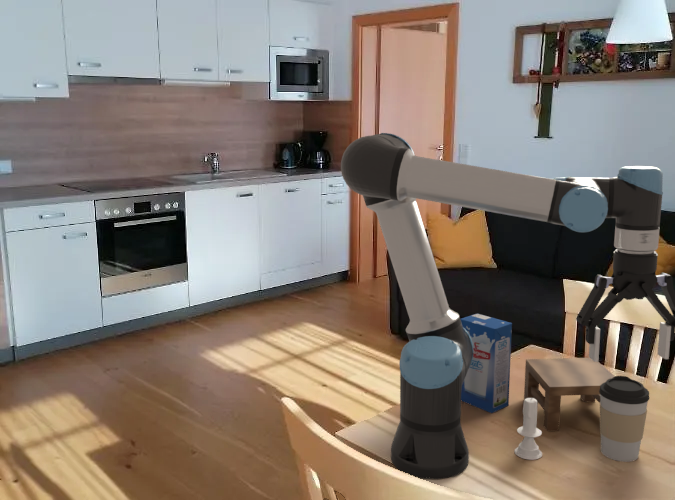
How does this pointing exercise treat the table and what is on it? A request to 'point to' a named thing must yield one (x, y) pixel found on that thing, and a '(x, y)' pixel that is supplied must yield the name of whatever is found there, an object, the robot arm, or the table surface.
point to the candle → (529, 432)
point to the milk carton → (488, 363)
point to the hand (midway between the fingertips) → (628, 358)
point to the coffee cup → (622, 417)
